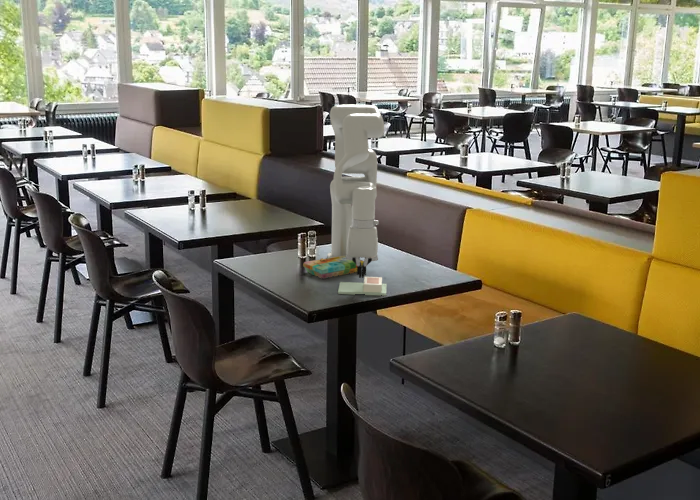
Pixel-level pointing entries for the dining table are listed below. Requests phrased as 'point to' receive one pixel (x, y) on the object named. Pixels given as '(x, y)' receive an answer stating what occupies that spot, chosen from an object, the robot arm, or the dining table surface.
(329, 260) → the puzzle game
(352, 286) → the mat
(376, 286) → the card box
